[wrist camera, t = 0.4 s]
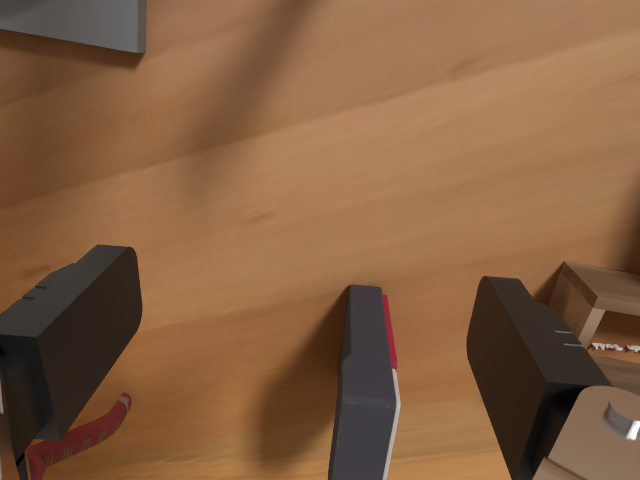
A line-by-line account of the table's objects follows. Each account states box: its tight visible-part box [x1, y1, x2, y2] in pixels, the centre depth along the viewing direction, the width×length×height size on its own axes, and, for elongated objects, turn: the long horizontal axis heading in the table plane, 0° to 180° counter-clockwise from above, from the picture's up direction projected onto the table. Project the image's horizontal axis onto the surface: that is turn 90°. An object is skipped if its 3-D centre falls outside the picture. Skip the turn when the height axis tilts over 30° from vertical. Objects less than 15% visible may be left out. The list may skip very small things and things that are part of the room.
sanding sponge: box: [328, 285, 401, 480], centre depth 38 cm, size 11×4×15 cm, turn 175°
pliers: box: [26, 393, 131, 480], centre depth 39 cm, size 12×20×3 cm
